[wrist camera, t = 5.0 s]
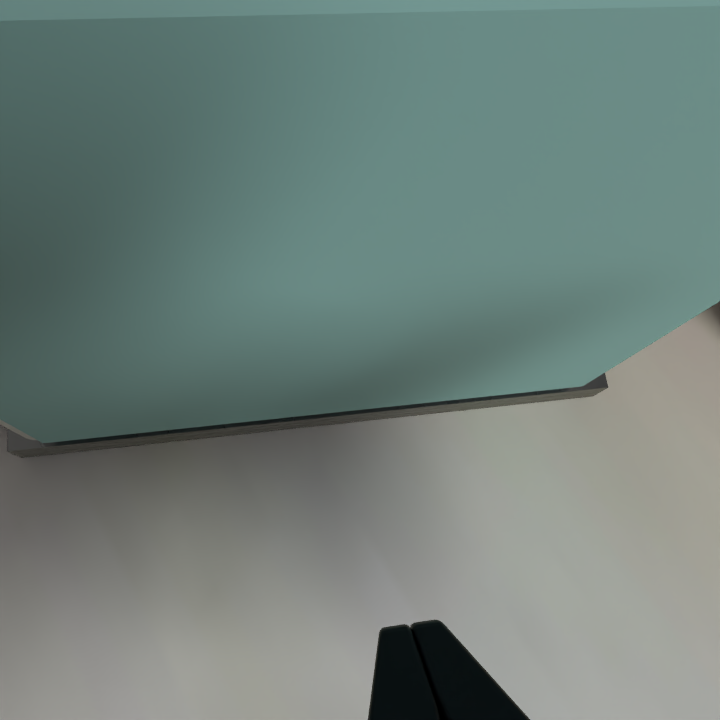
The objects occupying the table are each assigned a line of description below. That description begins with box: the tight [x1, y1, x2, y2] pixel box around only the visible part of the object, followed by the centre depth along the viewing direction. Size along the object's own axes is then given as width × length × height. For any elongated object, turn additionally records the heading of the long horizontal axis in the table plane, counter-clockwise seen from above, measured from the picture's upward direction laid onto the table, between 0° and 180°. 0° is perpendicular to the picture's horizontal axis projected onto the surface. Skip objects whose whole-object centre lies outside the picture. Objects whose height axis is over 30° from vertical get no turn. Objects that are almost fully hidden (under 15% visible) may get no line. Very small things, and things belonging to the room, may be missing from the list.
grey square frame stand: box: [7, 373, 608, 458], centre depth 13 cm, size 11×16×17 cm
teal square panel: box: [0, 0, 720, 443], centre depth 11 cm, size 1×14×13 cm, turn 98°
